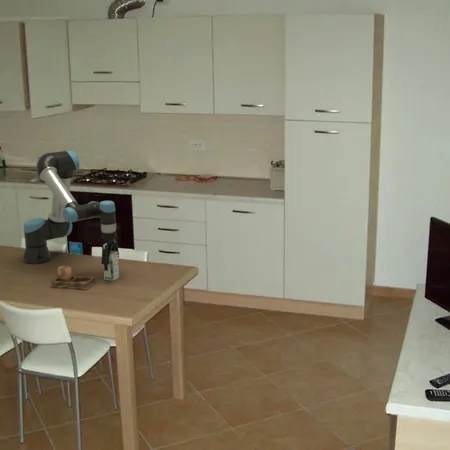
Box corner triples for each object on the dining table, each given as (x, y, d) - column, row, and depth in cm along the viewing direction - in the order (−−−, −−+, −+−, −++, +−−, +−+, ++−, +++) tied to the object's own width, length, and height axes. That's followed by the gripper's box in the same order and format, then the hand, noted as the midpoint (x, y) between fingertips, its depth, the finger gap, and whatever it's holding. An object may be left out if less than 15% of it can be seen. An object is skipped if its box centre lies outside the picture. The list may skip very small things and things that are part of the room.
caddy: (50, 287, 348) (48, 270, 346) (61, 280, 359) (60, 263, 357) (86, 290, 343) (85, 273, 341) (97, 282, 354) (96, 265, 352)
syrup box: (103, 279, 359) (102, 252, 355) (110, 276, 364) (109, 249, 360) (112, 281, 356) (111, 254, 352) (119, 278, 361) (118, 251, 357)
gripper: (106, 237, 342) (109, 280, 348) (124, 226, 363) (126, 267, 369) (92, 236, 344) (95, 279, 349) (110, 225, 365) (113, 266, 370)
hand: (111, 273), depth 359 cm, fingers open, 10 cm apart
